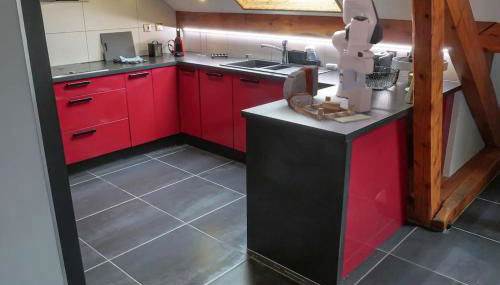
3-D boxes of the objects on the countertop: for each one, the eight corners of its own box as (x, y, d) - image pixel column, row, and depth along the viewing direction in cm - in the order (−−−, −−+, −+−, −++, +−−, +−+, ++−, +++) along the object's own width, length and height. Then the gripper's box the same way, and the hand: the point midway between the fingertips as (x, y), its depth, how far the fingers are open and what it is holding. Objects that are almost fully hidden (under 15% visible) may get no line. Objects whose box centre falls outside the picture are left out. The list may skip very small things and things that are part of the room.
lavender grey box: (341, 89, 206) (343, 69, 203) (360, 87, 212) (362, 67, 209) (345, 90, 204) (347, 69, 201) (364, 88, 209) (366, 68, 206)
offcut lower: (324, 110, 230) (325, 105, 229) (342, 114, 223) (342, 109, 222) (319, 112, 227) (319, 106, 226) (337, 116, 220) (337, 110, 219)
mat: (360, 115, 221) (361, 114, 220) (370, 118, 215) (370, 117, 215) (332, 119, 212) (332, 118, 211) (342, 123, 206) (342, 122, 206)
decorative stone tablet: (310, 63, 253) (281, 74, 232) (320, 65, 249) (291, 76, 228) (310, 95, 260) (281, 108, 239) (319, 96, 256) (291, 110, 235)
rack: (327, 106, 237) (328, 96, 235) (353, 115, 220) (354, 104, 218) (294, 111, 226) (295, 100, 224) (319, 121, 209) (320, 109, 207)
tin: (311, 106, 237) (312, 91, 234) (313, 107, 234) (314, 92, 231) (286, 108, 232) (287, 93, 229) (289, 109, 229) (289, 94, 227)
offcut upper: (323, 106, 227) (323, 100, 226) (339, 107, 224) (340, 102, 223) (321, 107, 223) (322, 102, 222) (339, 109, 221) (339, 103, 220)
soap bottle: (359, 112, 225) (363, 77, 219) (347, 109, 232) (350, 74, 225) (370, 110, 230) (374, 75, 224) (357, 107, 236) (361, 73, 230)
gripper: (337, 49, 209) (334, 77, 214) (367, 54, 192) (364, 84, 197) (346, 49, 212) (344, 76, 217) (377, 54, 195) (373, 83, 200)
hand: (354, 80), depth 207 cm, fingers closed on lavender grey box, 3 cm apart
